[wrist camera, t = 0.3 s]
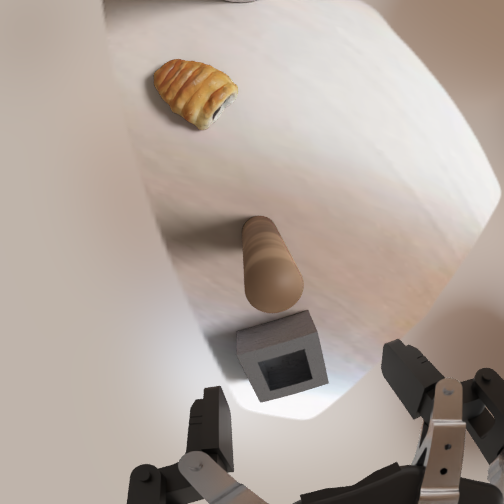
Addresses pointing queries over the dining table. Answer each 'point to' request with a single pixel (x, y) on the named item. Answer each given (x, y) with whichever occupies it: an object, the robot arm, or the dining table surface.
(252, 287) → the peg
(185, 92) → the pastry
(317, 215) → the dining table surface
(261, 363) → the socket block
